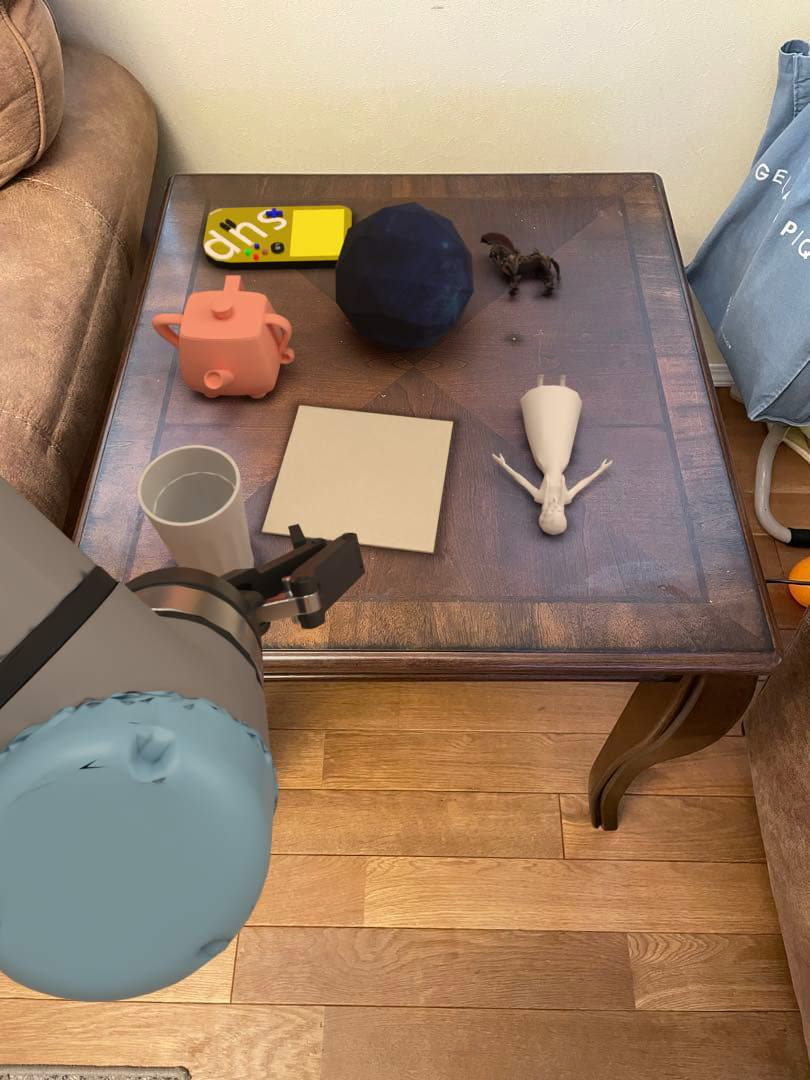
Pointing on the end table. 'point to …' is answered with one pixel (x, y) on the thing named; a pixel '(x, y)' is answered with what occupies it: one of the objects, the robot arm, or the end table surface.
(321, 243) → the game console
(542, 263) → the horse figurine
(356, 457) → the napkin
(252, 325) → the teapot
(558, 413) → the woman figurine
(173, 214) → the end table surface
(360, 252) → the decorative orb
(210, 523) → the cup
